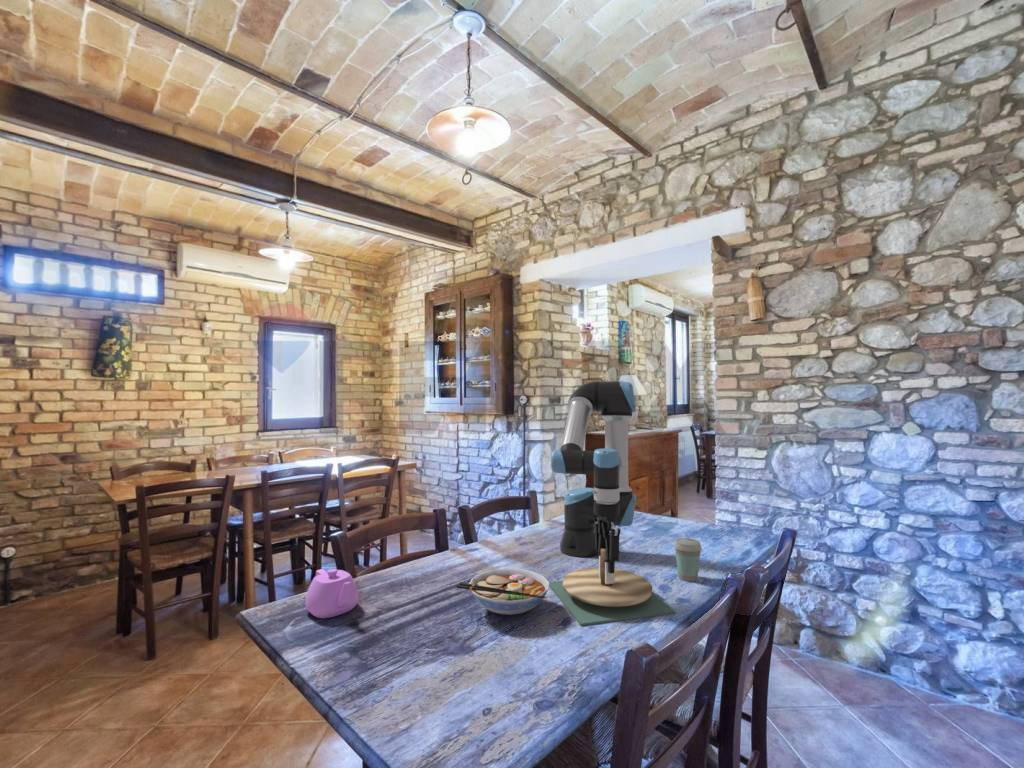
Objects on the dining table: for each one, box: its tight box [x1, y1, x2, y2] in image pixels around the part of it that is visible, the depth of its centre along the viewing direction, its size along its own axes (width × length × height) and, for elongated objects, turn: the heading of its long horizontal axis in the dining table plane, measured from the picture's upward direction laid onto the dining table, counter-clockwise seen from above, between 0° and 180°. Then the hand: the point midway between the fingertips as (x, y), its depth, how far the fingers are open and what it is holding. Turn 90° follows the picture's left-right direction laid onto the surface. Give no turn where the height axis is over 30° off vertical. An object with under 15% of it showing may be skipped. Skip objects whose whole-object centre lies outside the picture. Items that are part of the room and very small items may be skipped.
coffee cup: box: [673, 537, 702, 583], centre depth 160 cm, size 9×8×12 cm
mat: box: [549, 579, 676, 627], centre depth 145 cm, size 28×28×1 cm
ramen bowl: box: [456, 567, 550, 616], centre depth 138 cm, size 25×23×8 cm
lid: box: [562, 548, 653, 607], centre depth 145 cm, size 26×26×11 cm
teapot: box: [305, 568, 360, 619], centre depth 138 cm, size 13×20×11 cm
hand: (606, 580), depth 145 cm, fingers closed on lid, 4 cm apart
